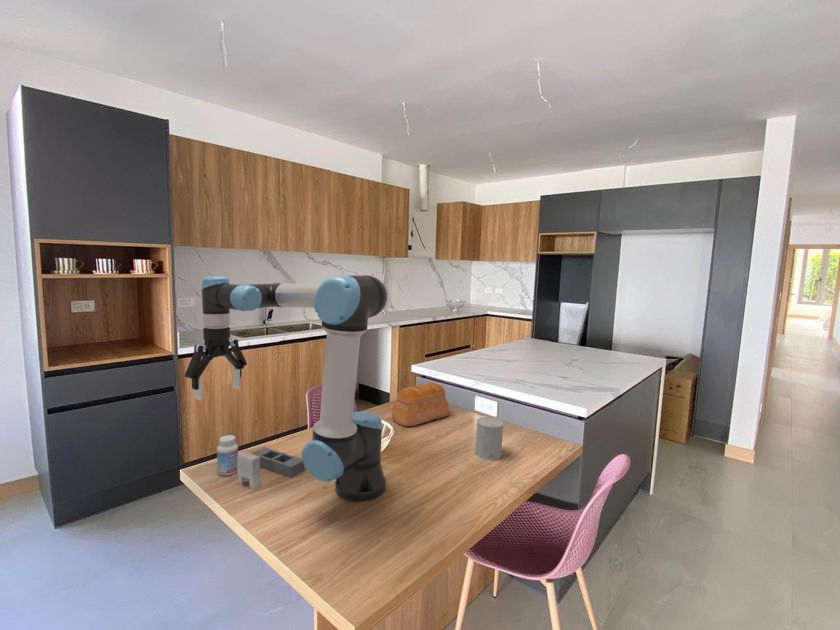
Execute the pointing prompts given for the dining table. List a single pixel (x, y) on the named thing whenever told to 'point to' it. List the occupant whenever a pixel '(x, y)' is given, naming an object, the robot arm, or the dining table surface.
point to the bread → (420, 404)
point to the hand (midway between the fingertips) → (218, 393)
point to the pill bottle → (227, 455)
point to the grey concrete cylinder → (489, 438)
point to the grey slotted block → (279, 462)
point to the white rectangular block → (248, 469)
